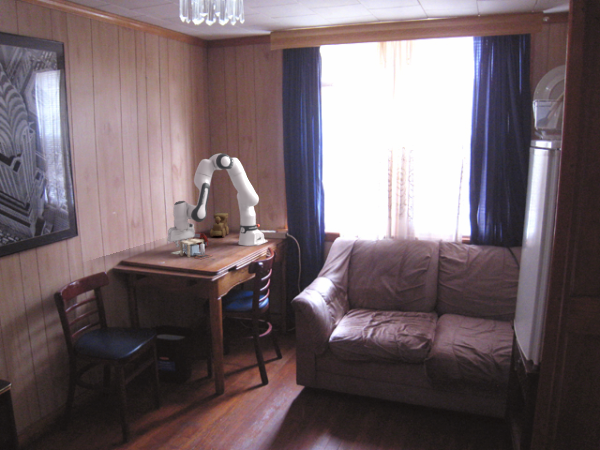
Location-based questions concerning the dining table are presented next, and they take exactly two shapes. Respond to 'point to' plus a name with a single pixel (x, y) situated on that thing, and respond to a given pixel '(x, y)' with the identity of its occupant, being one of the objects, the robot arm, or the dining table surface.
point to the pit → (203, 256)
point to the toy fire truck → (199, 236)
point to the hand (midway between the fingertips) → (181, 246)
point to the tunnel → (188, 245)
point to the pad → (176, 252)
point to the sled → (194, 249)
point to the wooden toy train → (220, 225)
